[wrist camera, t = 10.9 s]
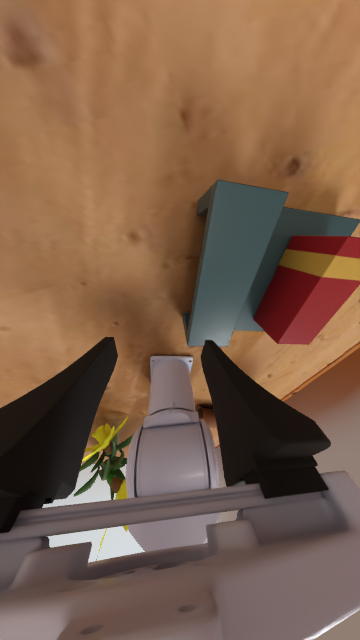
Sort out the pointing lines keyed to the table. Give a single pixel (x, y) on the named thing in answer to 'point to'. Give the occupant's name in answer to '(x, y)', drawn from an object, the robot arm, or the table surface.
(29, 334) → the table surface
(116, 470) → the daffodil flowers
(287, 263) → the candy bar
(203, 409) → the sunglasses case
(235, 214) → the shelf rack
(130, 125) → the table surface
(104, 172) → the table surface
